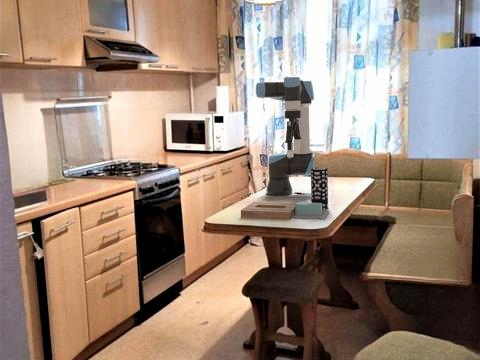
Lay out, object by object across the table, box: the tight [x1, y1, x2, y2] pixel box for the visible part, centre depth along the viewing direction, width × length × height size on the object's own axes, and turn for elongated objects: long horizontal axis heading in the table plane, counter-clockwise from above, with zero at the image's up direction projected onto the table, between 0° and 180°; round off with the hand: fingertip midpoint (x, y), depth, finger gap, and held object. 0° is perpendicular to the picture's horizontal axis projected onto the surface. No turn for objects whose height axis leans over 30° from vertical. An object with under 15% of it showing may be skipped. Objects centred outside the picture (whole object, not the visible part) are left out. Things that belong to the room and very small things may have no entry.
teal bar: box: [295, 201, 323, 215], centre depth 244 cm, size 4×12×5 cm, turn 71°
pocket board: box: [240, 201, 297, 220], centre depth 250 cm, size 20×24×4 cm
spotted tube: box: [310, 166, 329, 210], centre depth 257 cm, size 8×8×20 cm
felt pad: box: [294, 210, 331, 220], centre depth 244 cm, size 14×14×1 cm
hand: (293, 155), depth 244 cm, fingers open, 13 cm apart
